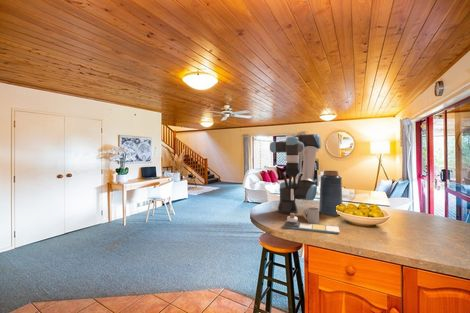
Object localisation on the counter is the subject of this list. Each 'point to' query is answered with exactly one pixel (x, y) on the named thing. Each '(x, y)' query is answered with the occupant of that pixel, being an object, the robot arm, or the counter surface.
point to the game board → (312, 227)
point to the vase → (330, 193)
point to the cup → (312, 215)
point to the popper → (292, 218)
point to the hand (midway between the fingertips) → (292, 199)
